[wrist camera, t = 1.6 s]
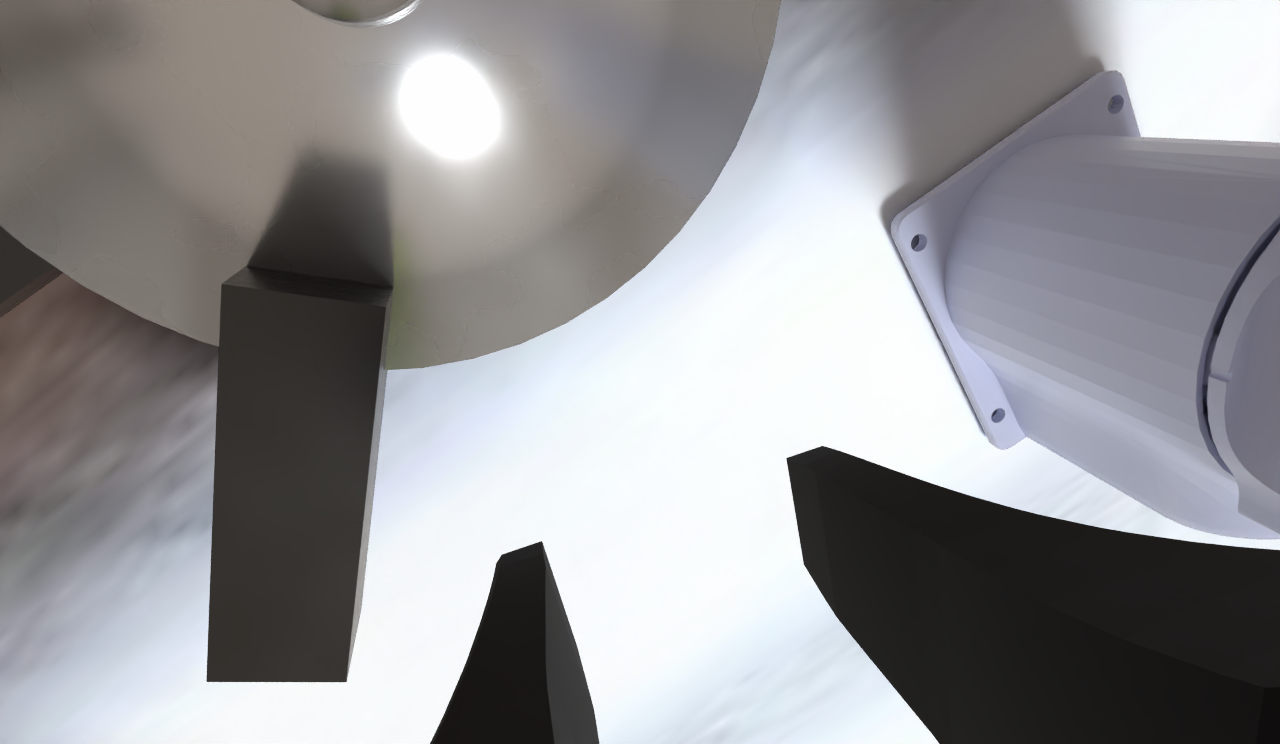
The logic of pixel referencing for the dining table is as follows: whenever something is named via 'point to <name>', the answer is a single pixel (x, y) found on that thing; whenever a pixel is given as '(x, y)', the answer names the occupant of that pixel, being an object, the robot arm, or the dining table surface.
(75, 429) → the dining table surface
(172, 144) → the cooker lid
